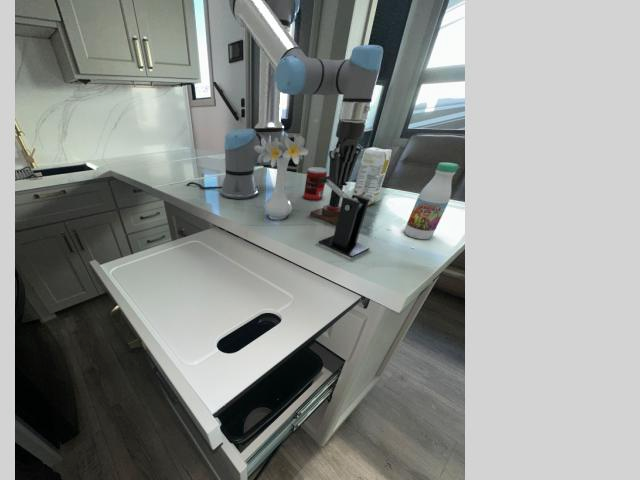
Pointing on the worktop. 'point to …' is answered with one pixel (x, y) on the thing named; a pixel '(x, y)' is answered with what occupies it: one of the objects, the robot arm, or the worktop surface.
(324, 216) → the control block
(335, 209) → the button
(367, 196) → the juice carton
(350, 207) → the bracket
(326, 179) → the lever
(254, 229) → the worktop surface
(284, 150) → the flower vase
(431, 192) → the milk bottle
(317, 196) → the canned food
